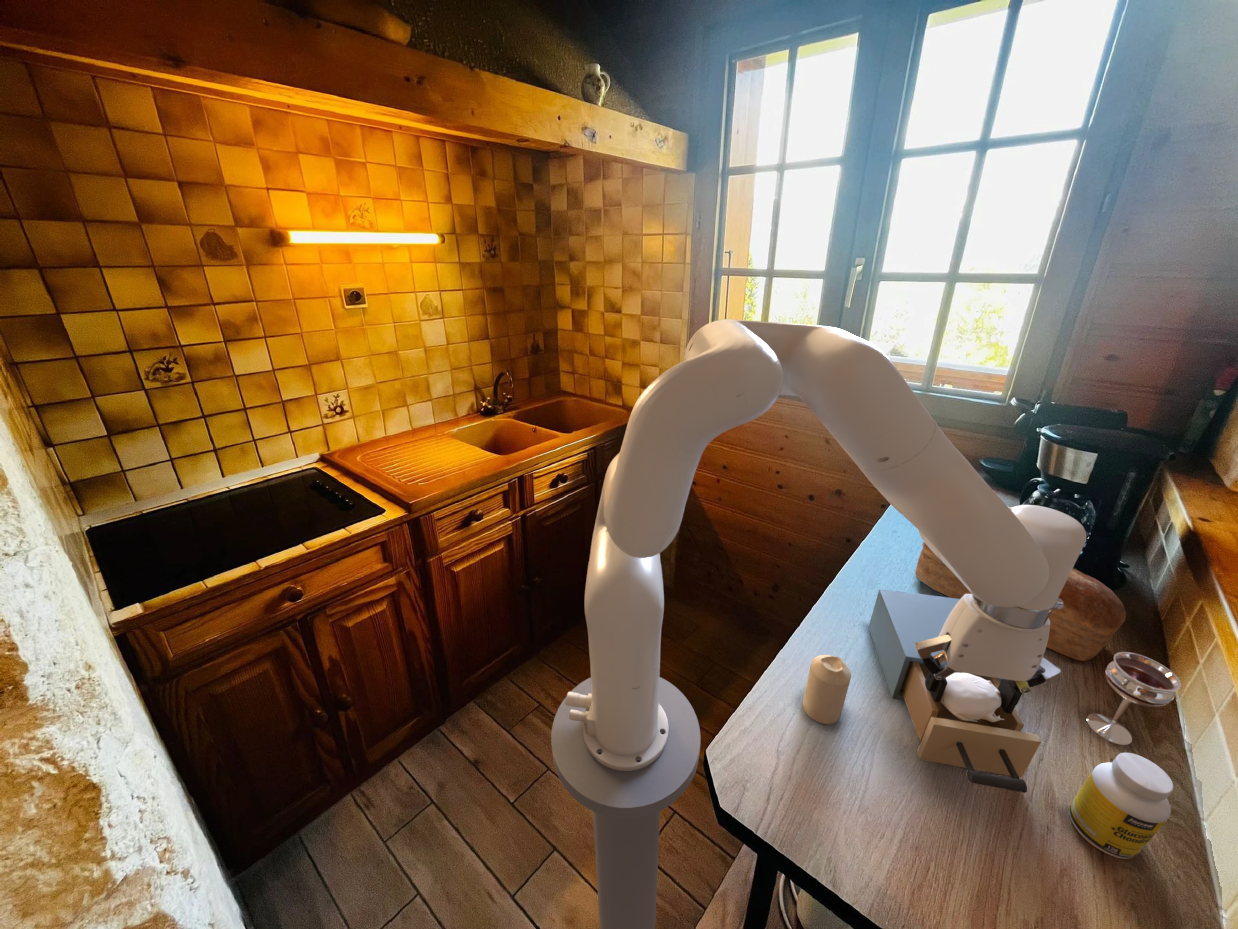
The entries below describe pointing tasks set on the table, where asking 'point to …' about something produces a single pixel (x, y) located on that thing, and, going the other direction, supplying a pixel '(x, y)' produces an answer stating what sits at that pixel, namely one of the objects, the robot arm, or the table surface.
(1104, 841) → the pill bottle
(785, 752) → the table surface
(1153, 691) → the wineglass
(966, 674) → the garlic
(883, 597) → the cabinet
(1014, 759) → the drawer
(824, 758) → the table surface
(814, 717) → the candle
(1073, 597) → the bread
